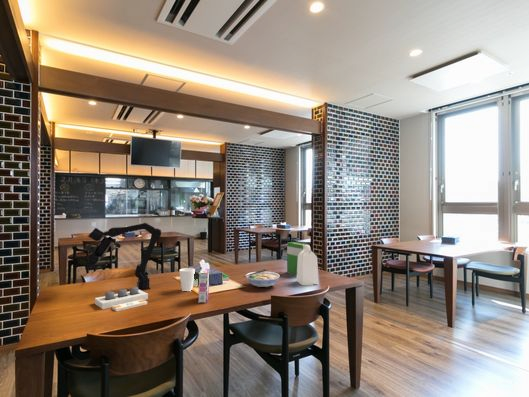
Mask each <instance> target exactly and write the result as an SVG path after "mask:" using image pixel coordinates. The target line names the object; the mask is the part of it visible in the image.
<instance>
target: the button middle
mask: <svg viewBox="0 0 529 397" xmlns="http://www.w3.org/2000/svg"><path fill="white" fill-rule="evenodd" d="M127 292H128V291H127V289H126V288H125V289H119V290H117V294H118V297H119V298H121V297H126V296H127Z"/></svg>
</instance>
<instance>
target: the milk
mask: <svg viewBox="0 0 529 397" xmlns="http://www.w3.org/2000/svg"><path fill="white" fill-rule="evenodd" d="M318 264H319V263H318V256H317V254H315V253H314V252H313V251H312V249H311V246H310V244H309V245H305V248H304V249H303V250H302V251H301V252H300V253H299V255H298V262H297V275H296V282H297V283H298V282H299V283H298V284H300V285H301V286H302V285H306V286H314V285H313V284H319V267H318Z"/></svg>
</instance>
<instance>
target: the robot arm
mask: <svg viewBox="0 0 529 397" xmlns="http://www.w3.org/2000/svg"><path fill="white" fill-rule="evenodd" d="M140 230H141V231H142V230H145V231H146V232H147V233H149V234H150V239H149V242H148V245H147V248H146V250H145V252H144V255H143V257H142V260H141V262H140V263H137V264H136V268H135V269H134V275H135V277H136V278H137V282H136V287H138V290H141V291H144V290H145V291H146V290H149V289H151V287H150V278H149V276H150V274H149V273H148V271H146V270H147V265H148V262H149V260H150V258H151V255H152V254H153V251H154V248H155V245H156V243H157V242H158V240H159V239H160V237H161V235H162V230H161V228H157V227H156V228H155V227H154V226H153V225H151V224H150V223H147V222H143V223H142V222H141V223H138V224H133V225H128V226H115V227H114V226H113V227H111V228H109V229H108V230H107V231H103V230H100V229H99V228H97V227H95V228H94V229H93V230H92V231H91V232H90V233H89V235H88V238H89V239H91V240H93V241H95V242H96V243H97V242H99V243H98V244H97V245H93V244H88V243H87V244H85V246H84V251H86V252H87V251H89V252H91V253H89V254H88V255H87V257H86V258H87V264H86V266H85V270H86V271H87V270H89V269H91V267H93V266H95V264H97V263H99V262H100V261H101V260H102V259H104V257H105V256H106V252H107V251H108V250H109V248H110V246H111V245H112V243H114V244H116V243H117V238H116V237H117V236H121V235H123V234H126V233H130V232H131V233H132V232H135V231H136V232H137V231H140Z"/></svg>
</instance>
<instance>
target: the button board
mask: <svg viewBox="0 0 529 397" xmlns="http://www.w3.org/2000/svg"><path fill="white" fill-rule="evenodd" d="M142 299H143V300H148V299H149V293H147V292H145V291H144V290H138V294H136V295H130V290H129V291H127V296H126V297H121V298H119V297H118V293H114V299H111V300H105V295H104V296H99V297H95V298H94V304H95V305H96V306H97V307H99V308H100V309H101V310H105V309H111V308H112V306H115V305H119V304H124V303H128V302H133V301H137V300H142Z"/></svg>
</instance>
